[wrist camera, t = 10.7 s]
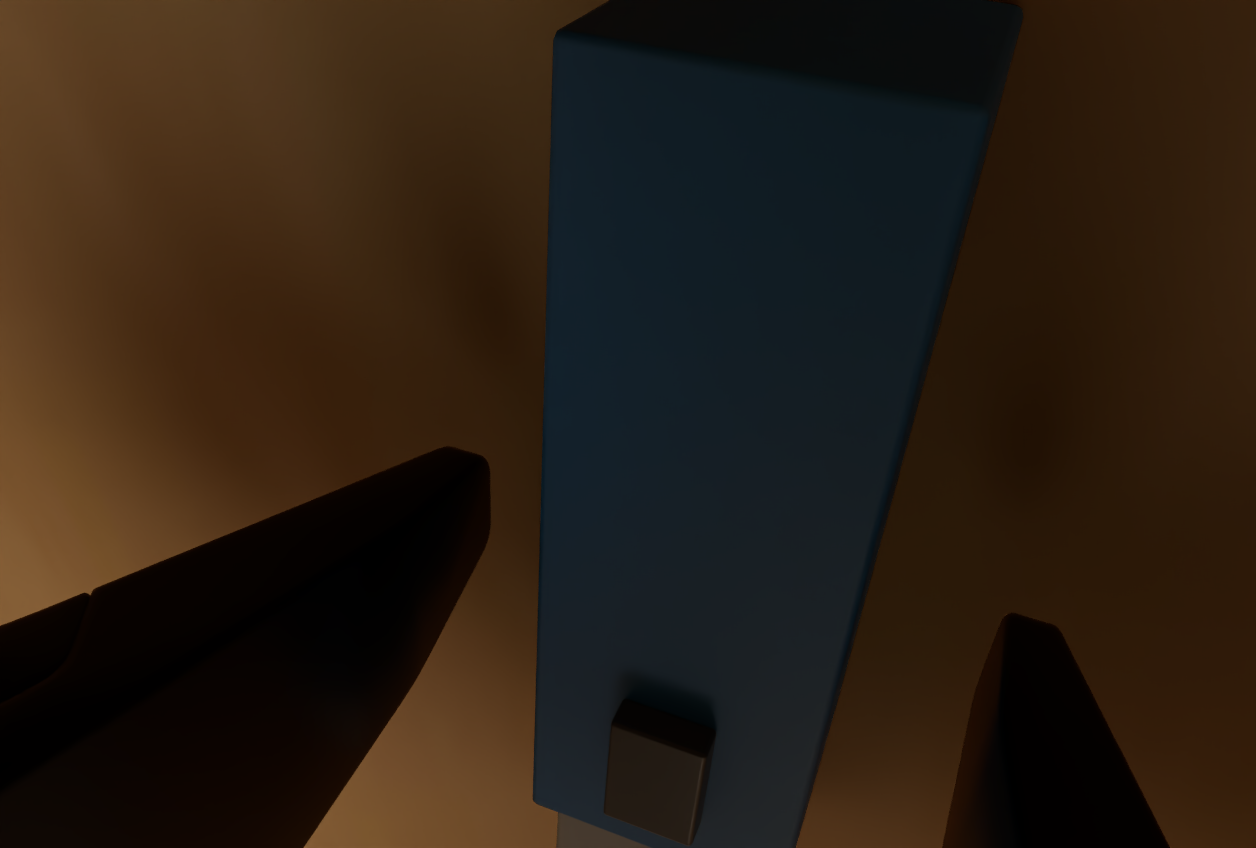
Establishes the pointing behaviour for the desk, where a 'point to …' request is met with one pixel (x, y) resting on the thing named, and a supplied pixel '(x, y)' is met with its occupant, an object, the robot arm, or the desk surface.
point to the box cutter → (734, 384)
